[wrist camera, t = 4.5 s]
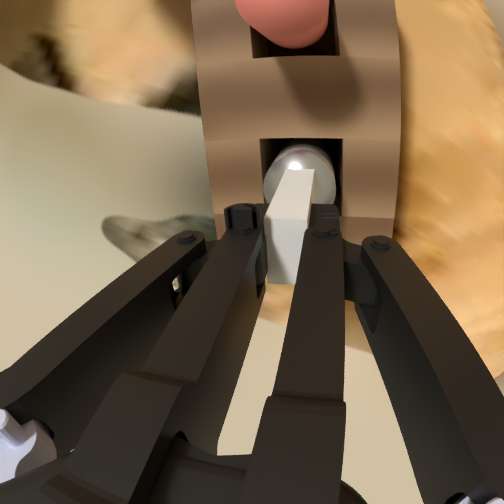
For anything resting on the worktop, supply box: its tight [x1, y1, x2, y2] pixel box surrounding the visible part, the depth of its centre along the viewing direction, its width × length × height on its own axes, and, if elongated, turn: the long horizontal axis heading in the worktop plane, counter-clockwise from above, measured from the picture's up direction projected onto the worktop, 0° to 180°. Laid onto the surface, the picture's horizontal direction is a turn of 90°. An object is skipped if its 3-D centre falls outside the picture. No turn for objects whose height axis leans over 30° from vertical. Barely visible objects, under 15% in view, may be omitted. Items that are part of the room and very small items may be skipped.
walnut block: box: [190, 0, 401, 245], centre depth 19 cm, size 20×12×6 cm, turn 5°
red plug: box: [235, 0, 329, 49], centre depth 12 cm, size 4×4×6 cm
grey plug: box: [263, 138, 336, 204], centre depth 19 cm, size 4×4×6 cm
